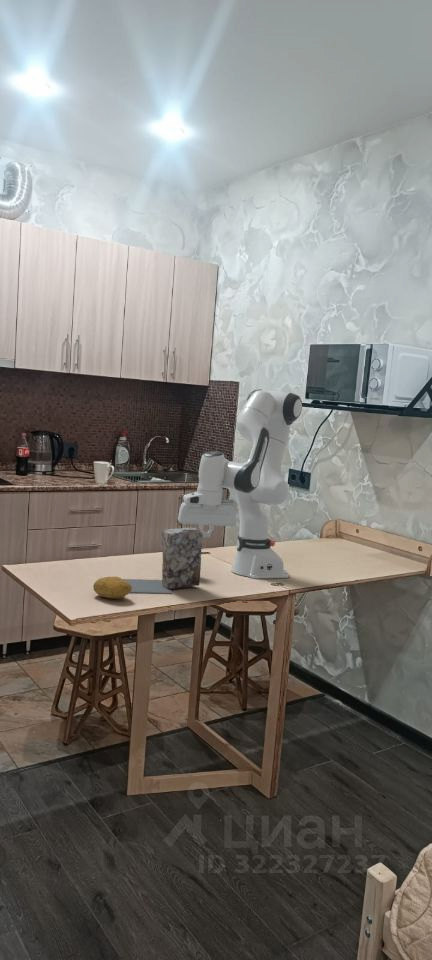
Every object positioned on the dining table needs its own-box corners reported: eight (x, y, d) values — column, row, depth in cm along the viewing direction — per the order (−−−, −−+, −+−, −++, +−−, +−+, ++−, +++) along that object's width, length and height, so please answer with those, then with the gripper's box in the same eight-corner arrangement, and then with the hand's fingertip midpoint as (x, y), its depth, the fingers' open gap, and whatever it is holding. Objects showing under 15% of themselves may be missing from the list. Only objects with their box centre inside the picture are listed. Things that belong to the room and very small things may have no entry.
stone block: (169, 590, 241) (171, 533, 238) (159, 585, 247) (161, 529, 244) (202, 585, 248) (204, 529, 246) (191, 580, 254) (193, 526, 251)
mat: (164, 581, 254) (164, 580, 254) (171, 594, 239) (172, 592, 239) (111, 579, 250) (111, 578, 250) (115, 592, 234) (115, 591, 234)
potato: (109, 591, 236) (111, 571, 235) (136, 600, 228) (138, 579, 227) (88, 595, 229) (89, 574, 228) (115, 605, 221) (116, 584, 220)
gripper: (235, 498, 251) (232, 536, 253) (179, 495, 246) (175, 534, 248) (240, 501, 245) (236, 540, 247) (182, 498, 240) (178, 538, 242)
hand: (205, 537), depth 247 cm, fingers closed
